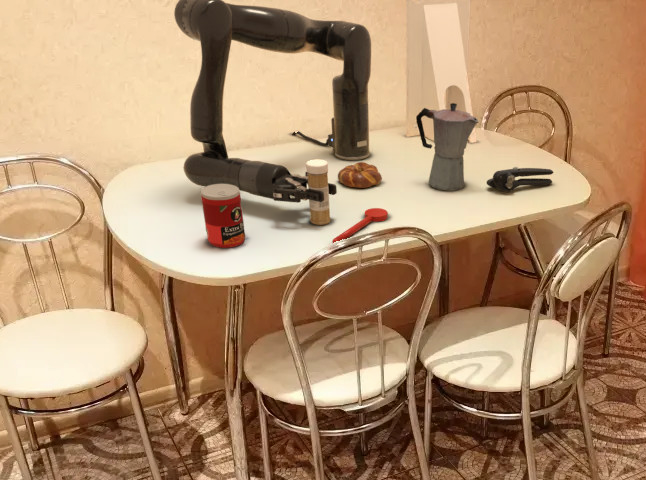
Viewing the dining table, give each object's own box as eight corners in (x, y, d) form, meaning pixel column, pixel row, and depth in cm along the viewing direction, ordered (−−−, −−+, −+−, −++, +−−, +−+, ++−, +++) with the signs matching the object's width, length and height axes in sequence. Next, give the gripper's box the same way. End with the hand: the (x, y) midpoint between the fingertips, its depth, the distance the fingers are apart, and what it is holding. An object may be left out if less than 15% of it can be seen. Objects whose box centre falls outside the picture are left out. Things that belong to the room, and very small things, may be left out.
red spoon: (344, 248, 160) (344, 242, 160) (323, 243, 162) (323, 237, 161) (391, 215, 176) (391, 209, 175) (371, 211, 178) (371, 205, 177)
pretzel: (338, 173, 198) (337, 159, 196) (380, 173, 199) (380, 158, 197) (337, 190, 188) (336, 175, 186) (382, 189, 189) (382, 174, 187)
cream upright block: (431, 149, 217) (434, -10, 194) (406, 135, 227) (406, -17, 204) (489, 139, 225) (499, -14, 203) (463, 127, 235) (469, -20, 213)
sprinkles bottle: (328, 216, 174) (324, 157, 167) (332, 224, 171) (329, 164, 163) (308, 218, 173) (304, 159, 165) (312, 226, 169) (308, 166, 162)
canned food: (227, 251, 158) (220, 199, 152) (199, 242, 161) (191, 191, 155) (253, 239, 163) (248, 188, 157) (226, 230, 167) (219, 180, 160)
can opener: (496, 197, 187) (498, 174, 184) (483, 187, 192) (485, 165, 189) (559, 188, 193) (562, 166, 190) (545, 179, 198) (547, 157, 195)
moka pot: (472, 194, 188) (476, 110, 177) (410, 188, 190) (411, 105, 179) (478, 181, 196) (483, 100, 184) (418, 176, 198) (420, 95, 187)
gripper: (242, 172, 166) (309, 186, 159) (282, 154, 176) (346, 167, 170) (246, 206, 170) (312, 221, 164) (284, 186, 180) (347, 199, 174)
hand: (329, 193), depth 167 cm, fingers closed on sprinkles bottle, 4 cm apart
